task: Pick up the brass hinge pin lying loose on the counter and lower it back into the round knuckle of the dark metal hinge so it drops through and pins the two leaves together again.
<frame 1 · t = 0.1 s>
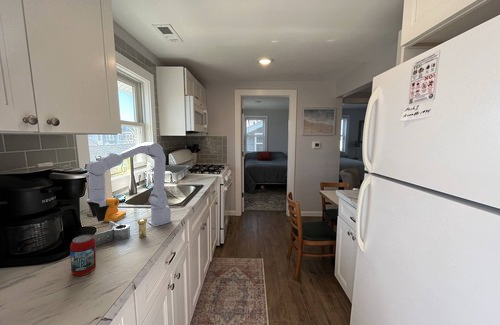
hand: (98, 218, 94), 10 cm above the counter, tool pointing down, fingers open, 7 cm apart
beverage can: (84, 271, 74), on the counter
bracket: (114, 219, 120), on the counter
hinge pin: (142, 236, 100), on the counter
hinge: (121, 237, 99), on the counter
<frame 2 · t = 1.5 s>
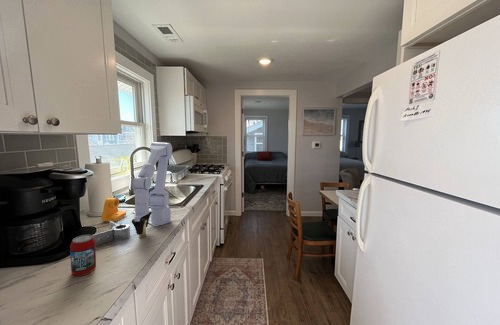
hand: (142, 230, 100), 3 cm above the counter, tool pointing down, fingers open, 7 cm apart
nothing on the counter moved.
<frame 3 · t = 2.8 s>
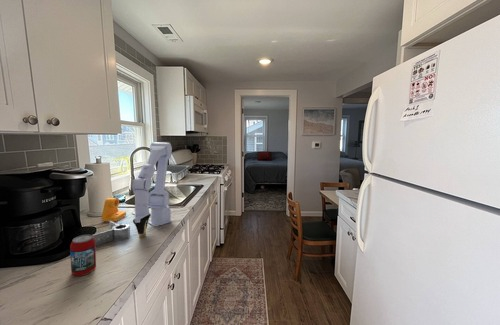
hand: (142, 231, 100), 2 cm above the counter, tool pointing down, fingers closed on hinge pin, 4 cm apart
hinge pin: (142, 236, 100), on the counter, touching gripper
everything else where it was.
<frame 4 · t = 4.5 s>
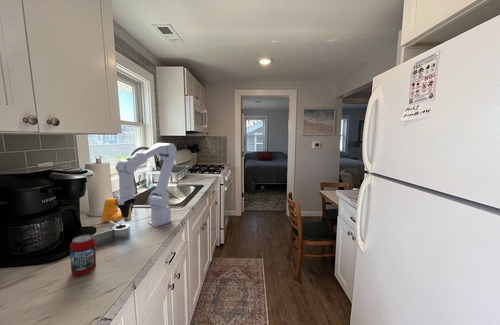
hand: (127, 215, 98), 10 cm above the counter, tool pointing down, fingers closed on hinge pin, 4 cm apart
hinge pin: (127, 220, 98), point 8 cm above the counter, touching gripper
everything else where it was.
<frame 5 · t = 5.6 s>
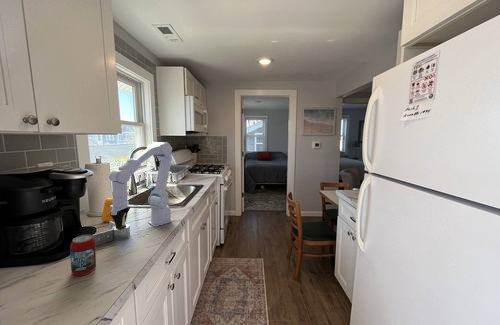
hand: (120, 224, 98), 6 cm above the counter, tool pointing down, fingers closed on hinge pin, 4 cm apart
hinge pin: (121, 230, 98), point 4 cm above the counter, touching gripper
everything else where it was.
when the fingers open (6 cm above the counter, at t = 6.4 s): hinge pin drops 3 cm, resting in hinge.
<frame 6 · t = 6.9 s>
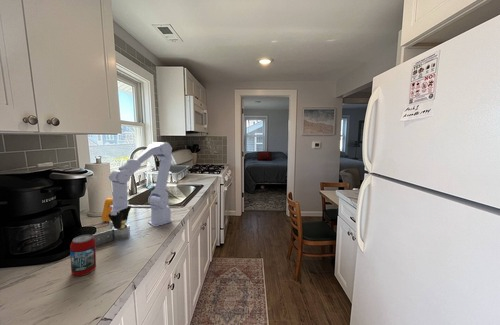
hand: (120, 225, 98), 6 cm above the counter, tool pointing down, fingers open, 7 cm apart
hinge pin: (121, 237, 99), resting in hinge
everything else where it was.
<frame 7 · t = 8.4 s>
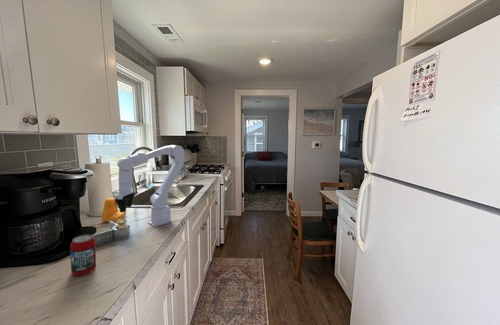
hand: (126, 209, 106), 10 cm above the counter, tool pointing down, fingers open, 7 cm apart
nothing on the counter moved.
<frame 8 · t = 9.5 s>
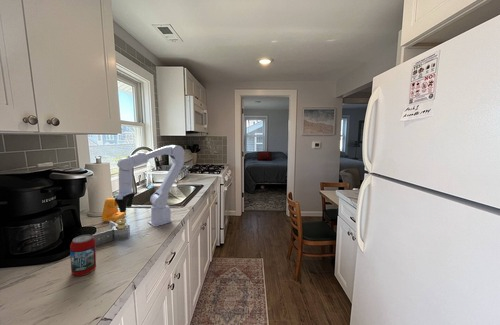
hand: (126, 209, 106), 10 cm above the counter, tool pointing down, fingers open, 7 cm apart
nothing on the counter moved.
at the end: hinge pin 0.3 cm off-centre on the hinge, point 0.0 cm above the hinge's base; hinge pin tilted 1°; the gripper is holding nothing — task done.
